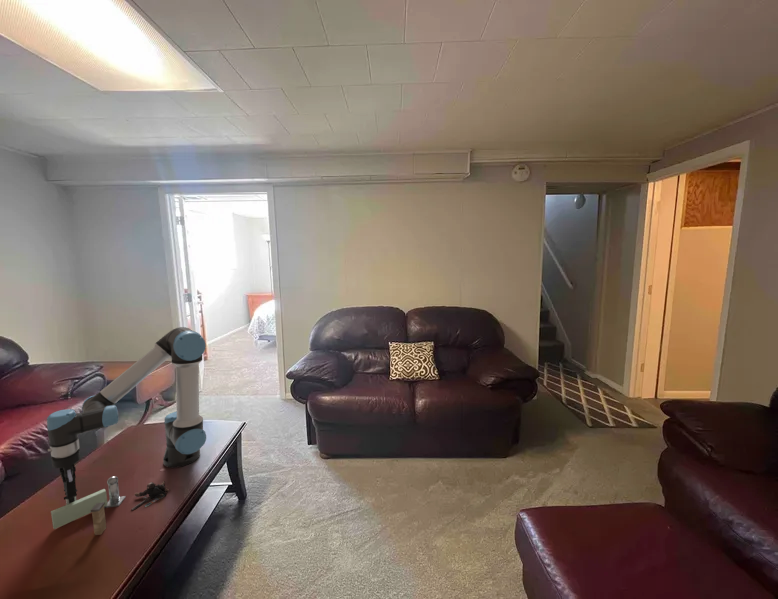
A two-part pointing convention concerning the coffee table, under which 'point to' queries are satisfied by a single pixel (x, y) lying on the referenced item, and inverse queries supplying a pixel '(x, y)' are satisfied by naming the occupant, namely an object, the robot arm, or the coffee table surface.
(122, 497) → the hinge post
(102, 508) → the block
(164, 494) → the stuffed animal
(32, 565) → the coffee table surface
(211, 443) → the coffee table surface
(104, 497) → the gate
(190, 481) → the coffee table surface
